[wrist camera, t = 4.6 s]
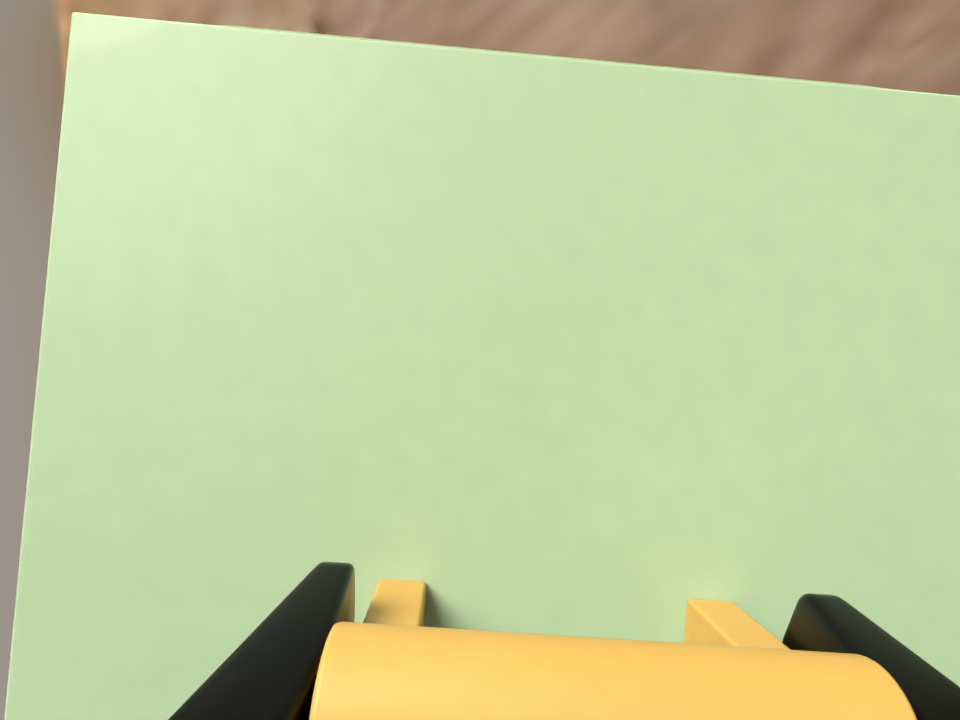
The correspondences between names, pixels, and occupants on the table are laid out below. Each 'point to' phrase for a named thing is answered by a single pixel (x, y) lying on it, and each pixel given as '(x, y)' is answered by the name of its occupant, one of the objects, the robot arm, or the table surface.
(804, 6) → the table surface
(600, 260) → the lid
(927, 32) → the table surface
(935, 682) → the robot arm
